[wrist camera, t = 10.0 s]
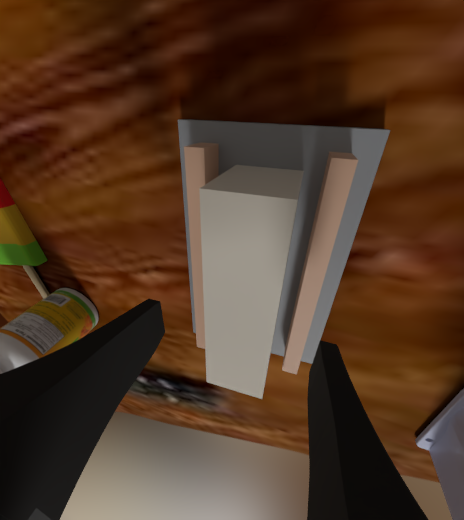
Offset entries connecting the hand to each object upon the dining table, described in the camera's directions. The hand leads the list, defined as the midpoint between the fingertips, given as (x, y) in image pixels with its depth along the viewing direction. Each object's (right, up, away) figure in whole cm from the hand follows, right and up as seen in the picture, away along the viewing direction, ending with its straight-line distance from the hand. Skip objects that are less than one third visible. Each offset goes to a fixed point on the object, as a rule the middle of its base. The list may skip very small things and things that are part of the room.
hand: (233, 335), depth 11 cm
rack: (+2, +4, +6) cm, 7 cm away
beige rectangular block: (+2, +3, +5) cm, 6 cm away
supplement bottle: (-17, -2, +15) cm, 23 cm away
